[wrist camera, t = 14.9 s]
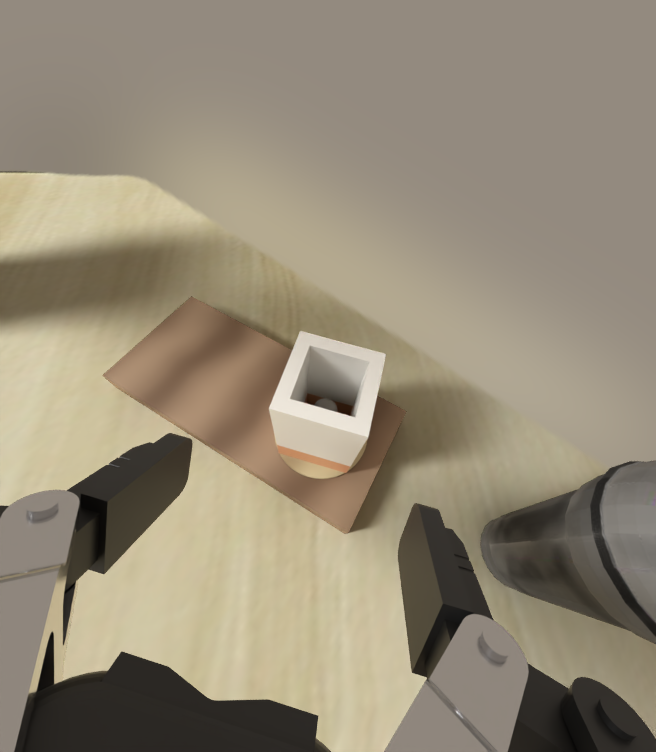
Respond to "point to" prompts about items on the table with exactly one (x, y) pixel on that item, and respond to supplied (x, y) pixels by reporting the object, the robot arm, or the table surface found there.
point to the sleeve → (333, 381)
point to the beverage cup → (586, 549)
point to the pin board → (244, 406)
